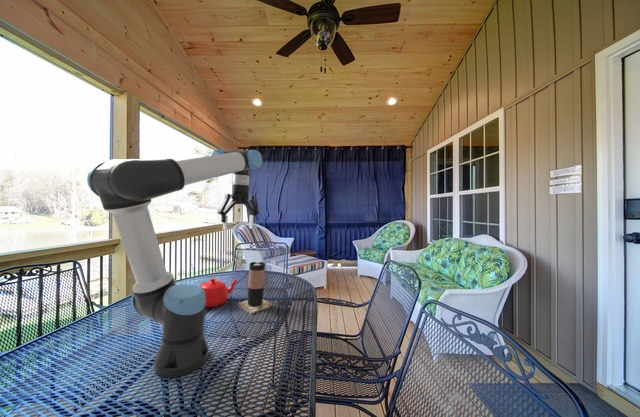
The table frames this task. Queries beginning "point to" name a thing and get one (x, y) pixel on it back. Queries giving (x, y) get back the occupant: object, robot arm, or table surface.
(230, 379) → the table surface
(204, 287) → the teapot
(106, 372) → the table surface
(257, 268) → the travel mug
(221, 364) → the table surface
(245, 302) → the trivet
